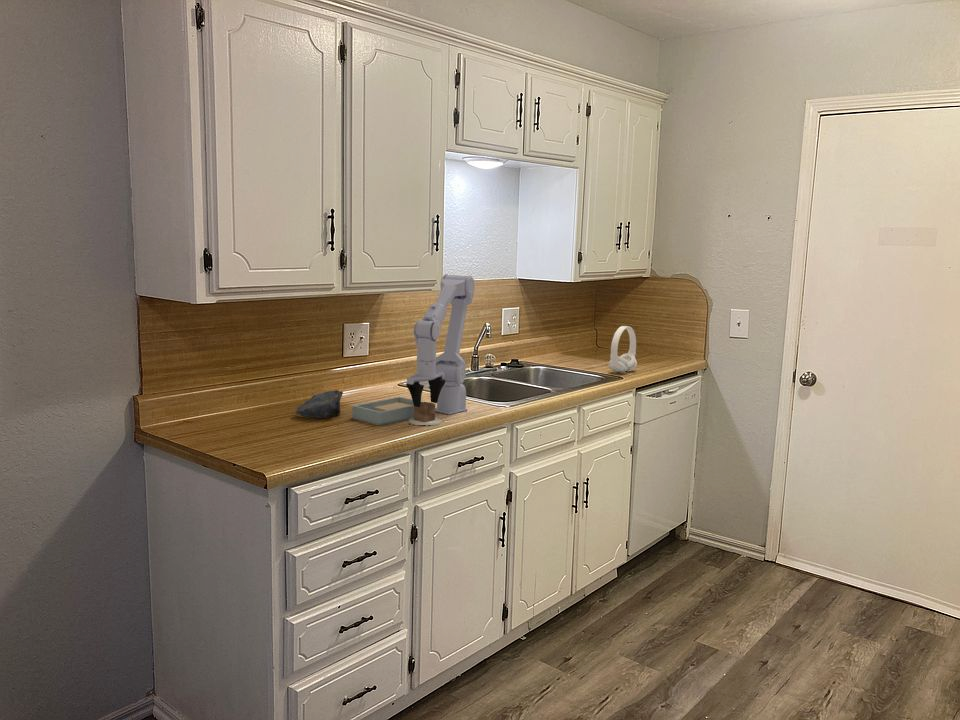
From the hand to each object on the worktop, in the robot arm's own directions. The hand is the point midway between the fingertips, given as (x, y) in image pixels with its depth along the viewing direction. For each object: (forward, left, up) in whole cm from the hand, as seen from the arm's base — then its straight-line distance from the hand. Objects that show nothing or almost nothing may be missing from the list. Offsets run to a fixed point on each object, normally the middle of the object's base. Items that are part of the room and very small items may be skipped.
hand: (425, 404), depth 235 cm
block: (0, 0, -5) cm, 5 cm away
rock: (+19, -26, -6) cm, 32 cm away
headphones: (-126, -3, -6) cm, 127 cm away
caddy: (+3, -12, -6) cm, 13 cm away
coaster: (0, 0, -6) cm, 6 cm away
